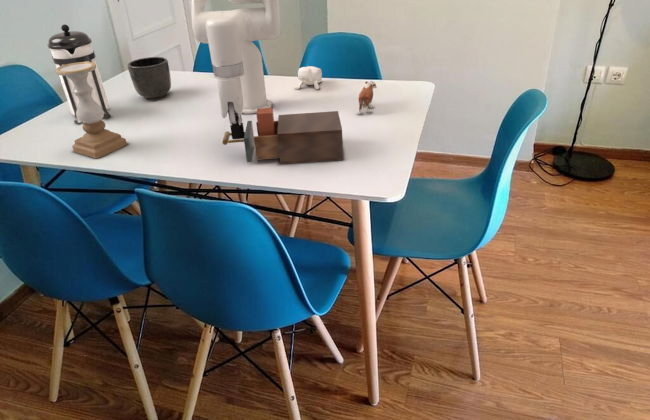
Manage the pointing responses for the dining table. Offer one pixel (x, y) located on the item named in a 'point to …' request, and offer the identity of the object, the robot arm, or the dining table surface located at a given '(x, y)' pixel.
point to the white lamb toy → (309, 76)
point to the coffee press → (75, 50)
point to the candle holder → (90, 114)
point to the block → (265, 121)
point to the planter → (150, 77)
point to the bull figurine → (366, 96)
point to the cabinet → (310, 137)
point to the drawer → (257, 143)
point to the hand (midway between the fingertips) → (238, 137)
